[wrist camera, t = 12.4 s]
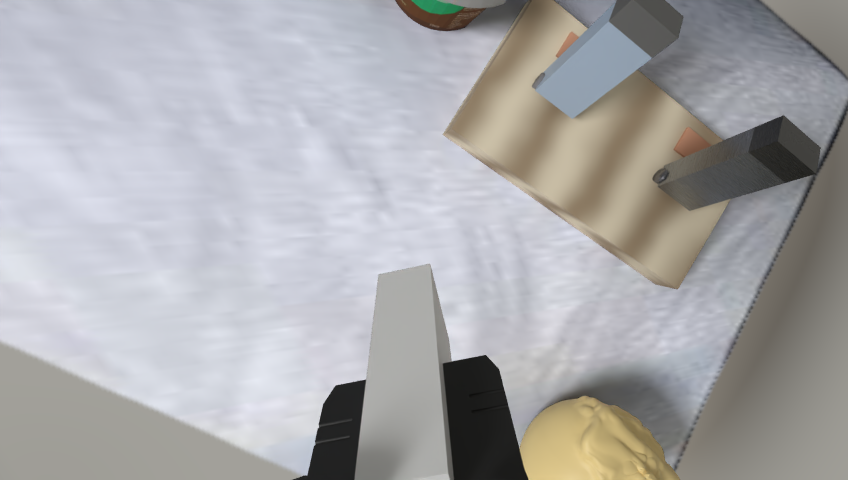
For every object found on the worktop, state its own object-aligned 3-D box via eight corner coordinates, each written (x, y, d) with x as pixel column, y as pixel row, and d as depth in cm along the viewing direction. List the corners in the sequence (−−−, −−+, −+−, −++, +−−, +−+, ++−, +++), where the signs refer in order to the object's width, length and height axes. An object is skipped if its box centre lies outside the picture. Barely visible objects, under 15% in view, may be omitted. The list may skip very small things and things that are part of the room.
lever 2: (649, 187, 41) (775, 139, 31) (656, 167, 42) (781, 113, 32) (684, 214, 42) (818, 175, 32) (690, 193, 42) (822, 149, 33)
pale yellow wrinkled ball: (637, 430, 46) (728, 495, 36) (559, 522, 45) (629, 617, 35) (565, 357, 44) (639, 403, 34) (481, 451, 43) (530, 530, 32)
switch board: (442, 134, 40) (452, 127, 37) (524, 4, 41) (541, -13, 38) (655, 284, 45) (680, 289, 42) (724, 166, 46) (754, 163, 43)
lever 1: (528, 93, 38) (630, -4, 28) (536, 75, 39) (637, -24, 30) (568, 124, 39) (680, 40, 29) (575, 105, 40) (685, 18, 30)
